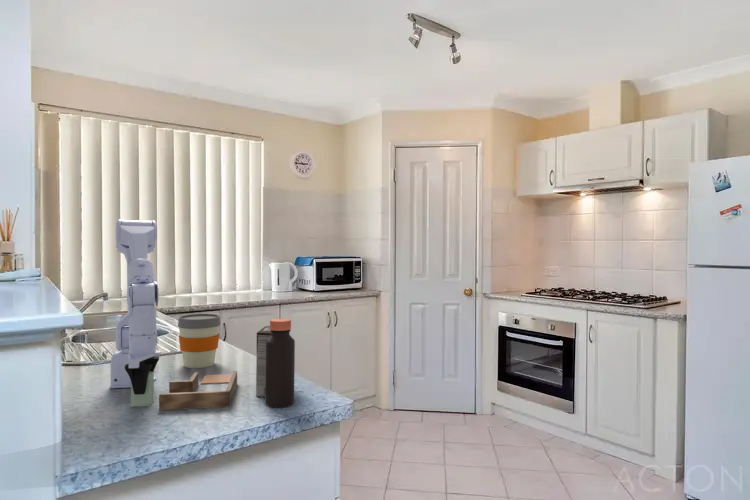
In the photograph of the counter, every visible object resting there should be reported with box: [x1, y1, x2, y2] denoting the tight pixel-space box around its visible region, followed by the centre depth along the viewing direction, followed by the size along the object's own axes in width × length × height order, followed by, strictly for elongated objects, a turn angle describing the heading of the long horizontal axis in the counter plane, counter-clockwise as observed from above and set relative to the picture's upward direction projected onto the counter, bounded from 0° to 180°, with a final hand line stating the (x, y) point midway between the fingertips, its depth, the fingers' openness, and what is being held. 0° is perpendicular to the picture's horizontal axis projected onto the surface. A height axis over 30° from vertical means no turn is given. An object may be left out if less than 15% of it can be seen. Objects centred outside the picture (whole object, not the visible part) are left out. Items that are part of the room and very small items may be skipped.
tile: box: [200, 373, 232, 385], centre depth 135 cm, size 8×8×1 cm
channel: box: [158, 370, 238, 411], centre depth 121 cm, size 16×18×4 cm
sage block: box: [130, 370, 155, 408], centre depth 115 cm, size 4×4×7 cm
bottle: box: [264, 318, 296, 409], centre depth 116 cm, size 7×7×20 cm
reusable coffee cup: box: [177, 313, 221, 369], centre depth 152 cm, size 13×13×15 cm
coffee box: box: [255, 325, 271, 397], centre depth 125 cm, size 9×6×16 cm
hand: (142, 391), depth 115 cm, fingers closed on sage block, 4 cm apart
